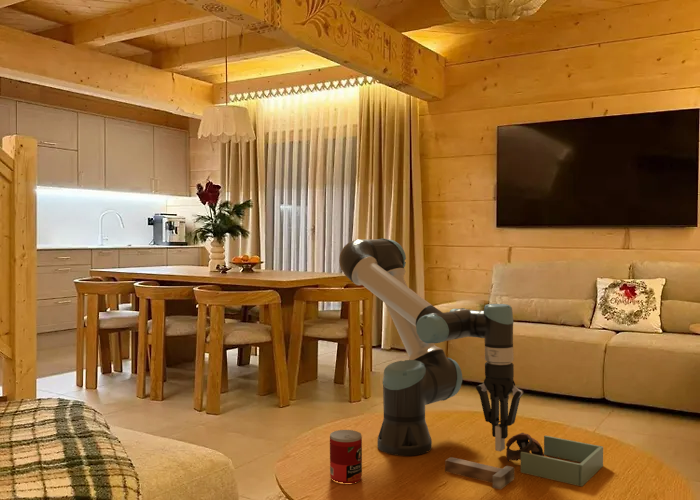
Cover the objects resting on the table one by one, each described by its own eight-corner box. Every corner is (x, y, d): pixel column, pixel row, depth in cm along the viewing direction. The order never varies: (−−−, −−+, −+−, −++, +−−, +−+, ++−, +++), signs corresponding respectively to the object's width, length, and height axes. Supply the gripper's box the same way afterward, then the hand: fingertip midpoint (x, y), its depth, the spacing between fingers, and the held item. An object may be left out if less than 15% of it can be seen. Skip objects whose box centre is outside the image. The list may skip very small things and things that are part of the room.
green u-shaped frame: (520, 472, 162) (520, 452, 162) (545, 453, 175) (545, 435, 175) (582, 486, 153) (582, 465, 153) (603, 465, 166) (603, 446, 166)
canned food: (351, 487, 154) (351, 441, 153) (323, 480, 158) (323, 436, 157) (368, 476, 160) (367, 432, 160) (340, 470, 164) (340, 427, 164)
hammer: (440, 475, 161) (440, 463, 161) (455, 465, 168) (455, 454, 168) (500, 490, 152) (500, 477, 152) (514, 479, 158) (514, 467, 158)
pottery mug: (552, 470, 165) (539, 444, 163) (518, 484, 167) (504, 459, 165) (541, 443, 177) (528, 419, 175) (509, 456, 178) (496, 433, 176)
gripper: (470, 361, 175) (471, 448, 175) (516, 367, 167) (517, 458, 167) (483, 357, 181) (484, 441, 181) (527, 362, 173) (528, 450, 173)
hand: (500, 449), depth 174 cm, fingers closed
